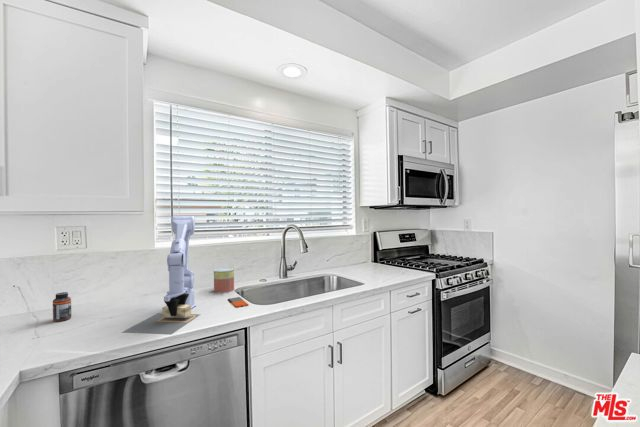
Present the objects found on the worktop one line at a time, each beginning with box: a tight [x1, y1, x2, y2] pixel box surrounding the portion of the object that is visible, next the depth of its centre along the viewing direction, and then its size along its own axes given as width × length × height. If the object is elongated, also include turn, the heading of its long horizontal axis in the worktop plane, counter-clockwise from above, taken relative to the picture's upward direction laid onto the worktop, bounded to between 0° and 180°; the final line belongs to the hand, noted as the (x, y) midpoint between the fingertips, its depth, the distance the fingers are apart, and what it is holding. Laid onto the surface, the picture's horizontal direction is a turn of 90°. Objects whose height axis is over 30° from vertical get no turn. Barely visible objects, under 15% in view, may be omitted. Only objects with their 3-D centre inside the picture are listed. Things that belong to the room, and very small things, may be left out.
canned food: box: [213, 267, 235, 294], centre depth 171 cm, size 11×11×12 cm
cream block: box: [161, 304, 192, 318], centre depth 125 cm, size 10×4×4 cm, turn 85°
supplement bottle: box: [52, 291, 72, 323], centre depth 126 cm, size 6×6×11 cm
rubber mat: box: [121, 312, 201, 335], centre depth 120 cm, size 21×20×1 cm
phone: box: [227, 296, 250, 309], centre depth 148 cm, size 6×1×15 cm
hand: (177, 313), depth 125 cm, fingers closed on cream block, 4 cm apart
